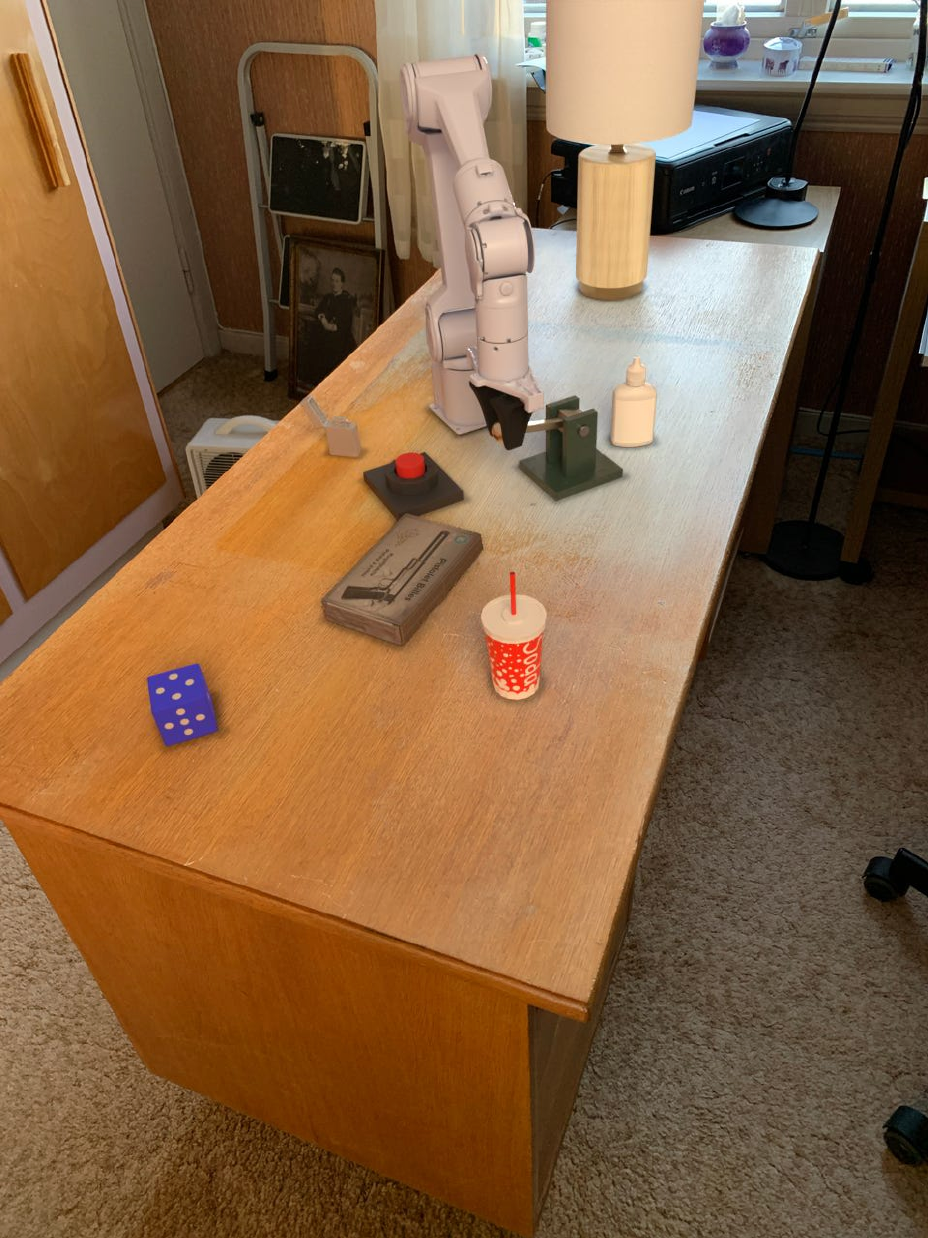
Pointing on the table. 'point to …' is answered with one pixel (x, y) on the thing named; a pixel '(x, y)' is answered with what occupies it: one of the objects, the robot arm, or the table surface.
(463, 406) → the robot arm
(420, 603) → the box
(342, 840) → the table surface
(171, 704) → the die
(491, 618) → the beverage cup
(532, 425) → the lever
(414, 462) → the button
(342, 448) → the lighter
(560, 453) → the bracket
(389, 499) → the button box
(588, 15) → the lamp
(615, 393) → the eye dropper bottle
